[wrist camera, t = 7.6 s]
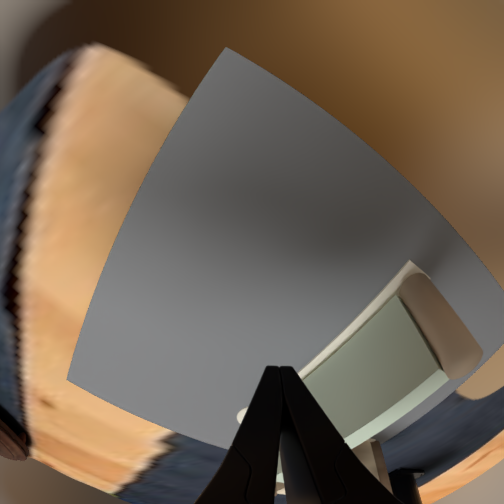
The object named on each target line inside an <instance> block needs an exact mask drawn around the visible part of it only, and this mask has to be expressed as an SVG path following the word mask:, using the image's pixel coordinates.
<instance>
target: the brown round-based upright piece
mask: <svg viewBox="0 0 504 504" xmlns="http://www.w3.org/2000/svg"><path fill="white" fill-rule="evenodd" d="M25 442H26V434H25V433H24V432H22V433H21V434H19V435H18V436H17V435H16V434H15V433H14V432H13V431H12V430H11V429H10V428H9V427H8V426H7V425H6V424H5V423H4V422H3V421H1V420H0V455H1V456H3V457H5V458H8V459H11V460H20V461H25V460H26V459H27V456H28V454H29V450H28V448H27V447H26V445H25Z"/></svg>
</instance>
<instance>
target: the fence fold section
mask: <svg viewBox="0 0 504 504" xmlns="http://www.w3.org/2000/svg"><path fill="white" fill-rule="evenodd" d="M400 297H401V298H399V297H398V296H397V295H395V296H394V297H393V298H392V299H391V300H390V301H389V302H388V303H387V304H386V305H385V306H384V307H383V308H382V309H381V310H380V311H379V312H378V313H377V314H376V315H375V316H374V317H373V318H372V319H371V320H370V321H369V322H368V323H367V324H366V325H365V326H364V327H363V328H362V329H361V330H360V331H359V332H358V333H357V334H356V335H354V336H353V337H352V338H351V339H350V340H349V341H348V342H347V343H346V344H345V345H344V346H343V347H341V348H340V349H339V350H338V351H337V352H336V353H335V354H334V355H333V356H331V357H330V358H329V359H328V360H327V361H326V362H325V363H323V364H322V365H321V366H320V367H319V368H318V369H316V370H315V371H314V372H313V373H312V374H310V375H309V376H308V377H307V378H306V379H304V380H303V382H304V384H305V385H306V386H307V388H308V389H309V391H310V392H311V394H312V395H313V397H314V398H315V399H316V401H317V402H318V404H319V405H320V406H321V408H322V409H323V411H324V412H325V414H326V415H327V416H328V418H329V419H330V421H331V422H332V423H333V425H334V426H335V428H336V429H337V430H338V432H339V433H340V434H341V436H342V437H343V439H344V440H345V443H347V444H348V445H349V447H350V448H351V449H353V448H354V447H356V446H358V445H359V444H361V443H363V442H364V441H366V440H368V439H369V438H371V437H372V436H374V435H376V434H377V433H379V432H380V431H382V430H383V429H385V428H386V427H388V426H389V425H391V424H392V423H394V422H395V421H396V420H398V419H399V418H401V417H402V416H404V415H405V414H406V413H408V412H409V411H410V410H412V409H413V408H414V407H416V406H417V405H418V404H420V403H421V402H422V401H424V400H425V399H426V398H427V397H429V396H430V395H431V394H433V393H434V392H435V391H436V390H437V389H439V388H440V387H441V386H442V385H443V384H445V383H446V382H447V381H448V380H449V379H451V380H454V379H459V378H461V377H463V376H465V375H467V374H468V373H469V372H471V371H472V370H473V369H474V368H475V367H476V366H477V365H478V363H479V362H480V360H481V358H482V356H483V350H482V348H481V347H480V345H479V344H478V342H477V341H476V340H475V338H474V337H473V335H472V334H471V333H470V331H469V330H468V328H467V327H466V326H465V324H464V323H463V322H462V320H461V319H460V317H459V316H458V315H457V313H456V312H455V311H454V310H453V308H452V307H451V306H450V304H449V303H448V302H447V300H446V299H445V298H444V297H443V295H442V294H441V293H440V292H439V290H438V289H437V288H436V287H435V285H434V284H433V283H432V282H431V280H430V279H429V278H428V277H427V276H426V275H425V274H423V273H415V274H412V275H410V276H409V277H408V278H406V279H405V280H404V282H403V283H402V285H401V287H400ZM276 482H281V483H284V480H283V473H282V466H281V459H280V452H279V457H278V468H277V478H276Z"/></svg>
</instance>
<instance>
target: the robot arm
mask: <svg viewBox="0 0 504 504" xmlns="http://www.w3.org/2000/svg"><path fill="white" fill-rule="evenodd" d="M279 452H280V459H281V466H282V473H283V480H284V487H285V494H286V501H287V504H422V501H421V498H420V494H419V490H418V487H417V483H416V480H415V479H417V478H418V477H420V476H422V475H424V474H425V472H424V470H397V471H395V472H393V473H391V474H389V475H388V476H389V480H390V484H391V488H392V493H393V494H392V493H391V492H390V491H389V490H388V489H387V488H386V487H385V486H384V485H383V484H382V483H381V482H380V481H379V480H378V479H377V478H376V477H375V476H374V475H373V474H372V473H371V472H370V471H369V470H368V469H367V468H366V467H365V466H364V464H363V463H362V462H361V461H360V460H359V459H358V457H357V456H356V455H355V453H354V452H353V451H352V450H351V448H350V447H349V445H348V444H347V443H345V440H344V439H343V437H342V436H341V434H340V433H339V432H338V430H337V429H336V428H335V426H334V425H333V423H332V422H331V421H330V419H329V418H328V416H327V415H326V414H325V412H324V411H323V409H322V408H321V406H320V405H319V404H318V402H317V401H316V399H315V398H314V397H313V395H312V394H311V392H310V391H309V389H308V388H307V386H306V385H305V384H304V382H303V381H302V379H301V378H300V376H299V375H298V374H297V372H296V371H295V369H294V368H293V367H292V366H280V367H279V366H276V365H267V366H266V367H265V369H264V372H263V374H262V376H261V379H260V381H259V383H258V386H257V388H256V390H255V393H254V395H253V397H252V399H251V402H250V404H249V406H248V409H247V411H246V413H245V415H244V417H243V420H242V422H241V424H240V426H239V429H238V431H237V433H236V435H235V437H234V439H233V441H232V444H231V446H230V448H229V450H228V452H227V454H226V456H225V458H224V460H223V462H222V463H221V465H220V467H219V469H218V470H217V472H216V473H215V475H214V476H213V478H212V480H211V481H210V482H209V484H208V485H207V487H206V488H205V489H204V491H203V492H202V493H201V495H200V496H199V497H198V499H197V500H196V501H195V503H194V504H274V498H275V488H276V478H277V468H278V457H279Z"/></svg>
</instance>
